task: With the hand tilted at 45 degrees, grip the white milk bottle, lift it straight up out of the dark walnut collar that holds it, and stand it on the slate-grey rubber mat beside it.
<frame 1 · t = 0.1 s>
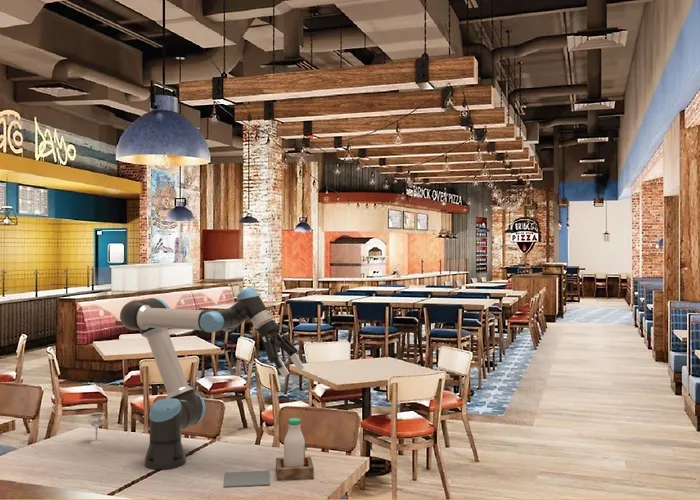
hand: (294, 372, 258), 36 cm above the table, tool tilted 35°, fingers open, 13 cm apart
wineglass: (96, 442, 289), on the table
walnut collar: (294, 473, 251), on the table
slate mat: (247, 479, 245), on the table
milk bottle: (294, 474, 251), resting in walnut collar
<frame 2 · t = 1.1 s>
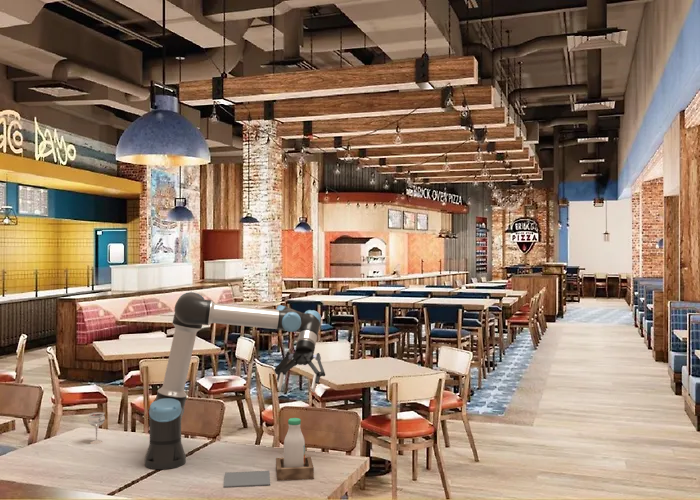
hand: (295, 389, 264), 28 cm above the table, tool tilted 45°, fingers open, 13 cm apart
nothing on the table moved.
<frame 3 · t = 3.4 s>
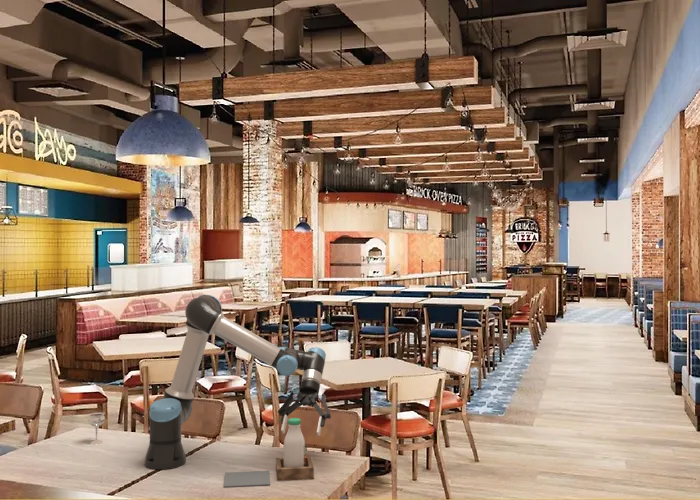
hand: (300, 433, 255), 14 cm above the table, tool tilted 45°, fingers open, 13 cm apart
nothing on the table moved.
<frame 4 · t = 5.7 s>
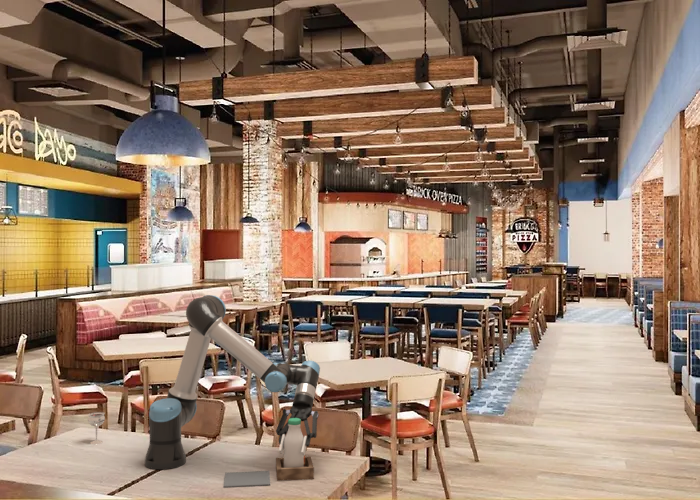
hand: (291, 453, 248), 9 cm above the table, tool tilted 45°, fingers closed on milk bottle, 8 cm apart
milk bottle: (294, 474, 251), resting in walnut collar, touching gripper
everything else where it was.
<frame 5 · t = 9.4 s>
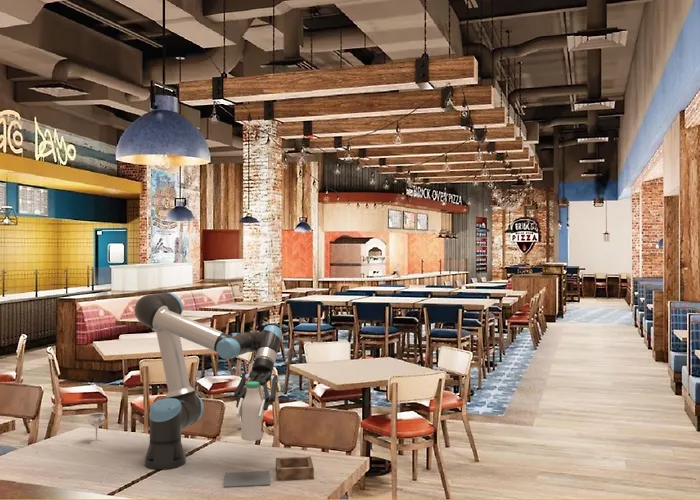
hand: (249, 416, 242), 23 cm above the table, tool tilted 45°, fingers closed on milk bottle, 8 cm apart
milk bottle: (251, 438, 246), point 14 cm above the table, touching gripper
everything else where it was.
when the fingers open (10 cm above the table, at t = 13.1 s): milk bottle drops 1 cm, resting on slate mat.
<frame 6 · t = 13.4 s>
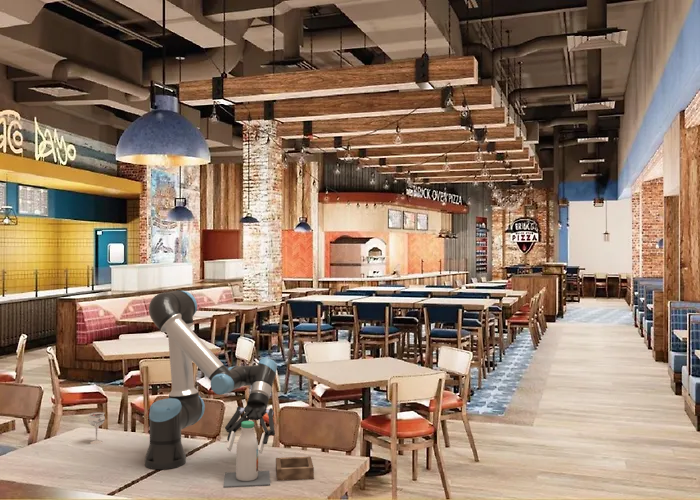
hand: (244, 450, 242), 11 cm above the table, tool tilted 45°, fingers open, 11 cm apart
milk bottle: (246, 478, 245), resting on slate mat
everything else where it was.
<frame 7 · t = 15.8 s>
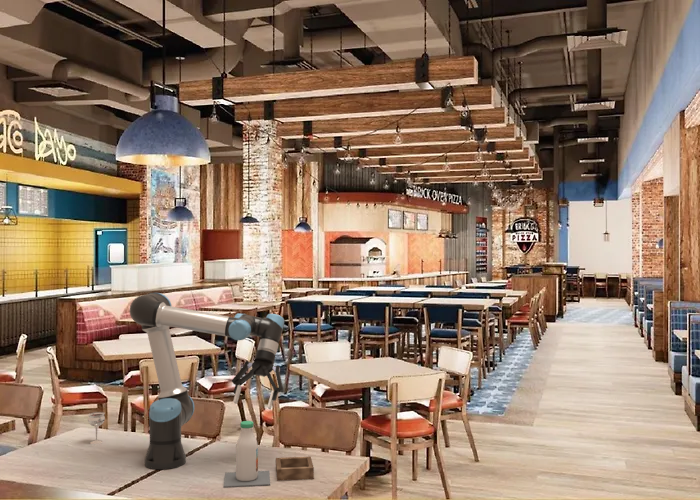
hand: (251, 405, 258), 23 cm above the table, tool tilted 30°, fingers open, 13 cm apart
nothing on the table moved.
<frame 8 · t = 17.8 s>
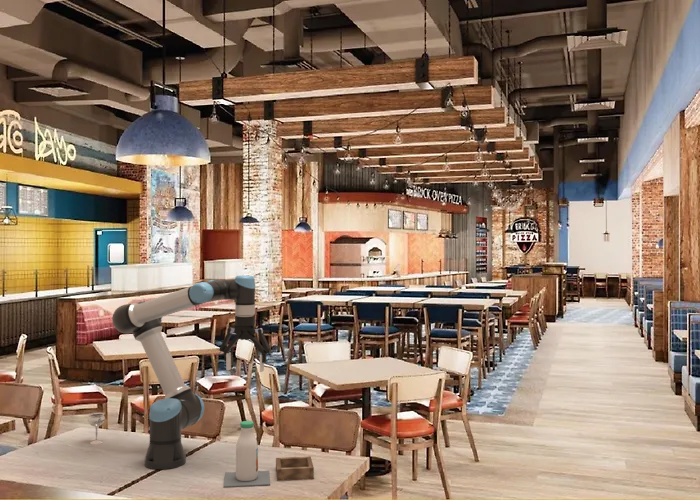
hand: (245, 370, 266), 35 cm above the table, tool pointing down, fingers open, 13 cm apart
nothing on the table moved.
at the end: milk bottle inside the target area on the slate mat (0.1 cm from its centre), point 0.3 cm above the slate mat's base; milk bottle tilted 0°; the gripper is holding nothing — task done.
